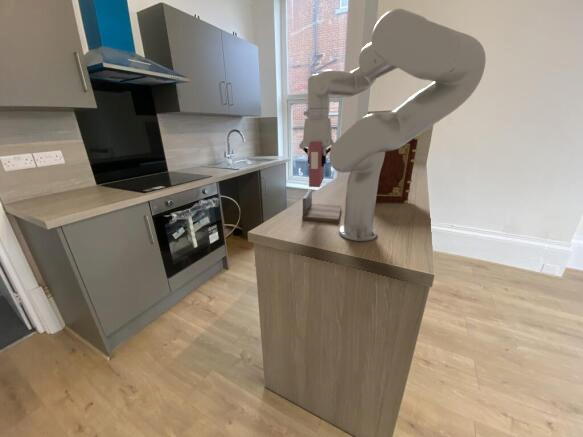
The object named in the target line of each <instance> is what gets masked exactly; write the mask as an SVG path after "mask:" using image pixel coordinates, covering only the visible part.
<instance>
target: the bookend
mask: <svg viewBox="0 0 583 437" xmlns="http://www.w3.org/2000/svg"><path fill="white" fill-rule="evenodd" d="M312 204H313V189H312V188H309V189H308V191H306V193H305V194H304V196H303V197H302V216H303V215H304V216H306V214H307V212H308V211H309V209H310V207H311V205H312Z"/></svg>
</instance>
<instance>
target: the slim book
mask: <svg viewBox="0 0 583 437" xmlns="http://www.w3.org/2000/svg"><path fill="white" fill-rule="evenodd" d="M322 154H323V150H322V142H310V143H309V164H308V187H309V188H320V187H321V185H322V182H323V180H324V175H325V174H324V173H325V165H324V166H323V167H322Z"/></svg>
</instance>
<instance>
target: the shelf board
mask: <svg viewBox="0 0 583 437" xmlns="http://www.w3.org/2000/svg"><path fill="white" fill-rule="evenodd" d="M341 212H342V205H336V204H322V203H320V204H319V203H312V205H311V207H310V209H309V211H308V212H307V214H306V216H304V215H303V214H302V217H301V221H302V222H311V223H322V224H334V225H335V224H336V225H339V223H340V217H341Z"/></svg>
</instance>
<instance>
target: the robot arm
mask: <svg viewBox="0 0 583 437" xmlns="http://www.w3.org/2000/svg"><path fill="white" fill-rule="evenodd" d="M370 37H371V38H370V42H369V43H367V44H366V45H365V46H364V47H362V48H361V49H360V50H361V51H360V52H359V56H358V66H359V67H357V68H356V69H353V70H351V71H346V70H339V69H337V70H336V69H325V70H322V71H320V73H316V74H314V73H313V74H311V75H309V77H308V79H307V109H306V110H305V111H303V116H307V118H305V119H304V124H303V125H304V126H303V135H302V136H303V139H302V141H301V142H300V144H299V145H298V148H299V149H300V150H302V151H303V152H304V153H305V154H306V155H307V164H308V165H309V143H310V142H322V150H323V154H322V167H323V166H324V167H325V165H326V164H327V155H328V154H329V155H328V156H329V157H328V158H329V162H330V165H331V167H332V168H333V169H334V170H335V171H336V172H338V173H342V174H343V173H349V175H348V178H347V181H346V192H345V203H344V204H345V205H344V207H345V208H344V221H343V225H341V226H340V227H338V228H339V230H338V233H339V234H340V235H341V237H343V238H344V239H347V240H351V241H356V242H367V241H372V240H374V239H375V238H376V237H377V235H378V232H377V229H376V228H374V222H375V221H374V219H375V212H376V204H377V203H376V196H377V189H378V181H379V175H380V171H381V168H382V164H383V161H384V157H385V152H386V151H392V150H396V149H398V148H400V147H402V146H403V145H405V144H406V143H407V142H409V141H410V140H412V139H413V138H415V137H416V136H418V135H419V136H420V135H421V134H422V133H425V131H426V130H428V129H430V128H431V127H432V126H434V125H435V124H436V123H439V122H440V121H441V120H442V119H444V118H446V117H447V116H449V115H450V114H452V113H453V112H454V111H456V110H457V109H459V107H460V106H462V105H463V104H464V103H465V102H466V101H467V100H468V99H469V98H470V97H471V96H472V94H473V93H475V91H476V89H477V87H478V86H479V84H480V82H481V80H482V77H483V75H484V72H485V68H486V59H487V58H486V52H485V49H484V46H483V45H482V43H481V42H480V40H478V39H477V38H475V37H473V36H472V35H470V34H467V33H464V32H461V31H459V30H456V29H453V28H450V27H447V26H444V25H442V24H438V23H436V22H433V21H432V20H431V21H430V20H428V19H427V18H426V17H425V16H422V15H420V14H417V13H414V12H412V11H409V10H406V9H404V8H393V9H391V10H389V11H387V12H386V13H384V14H383V15H382V16H381V17H380V18H379V20H378V21H377V22H376V24H375V26H374V28H373V30H372V32H371V36H370ZM396 69H399V70H400V71H403V72H405V73H406V74H408V75H410V76H412V77H413V78H416V79H420V80H422V81H428V82H429V81H430V82H431V83H430V84H429V85H427V86H426V87H424V88H422V89H420V90H419V91H417V92H415V93H414V94H412V96H410V97H409V98H408V99H407V100H406V101H405V102H403V103H402V104H401V105H400V106H398V107H397V108H395V109H394V110H391V111H387V112H371V113H369V114H366V115H364V116H362V117H360V118H359V119H358V120H357V121H356V122H354V123H353V125H351V126H350V127H349V128H348V129H347V130H346V131H345V132H344V133H342V135H341V136H340V137H338V139H337V140H335V141H334V140H333V138H332V120H331V117H330V118H329V114H330V113H329V112H330V98H350V97H351V98H352V97H354V96H356V95H358V94H361V93H363V92H365V91H366V90H368V89H370V88H371V87H372V86H373V84H374V83H375V82H376V80H377V79H378V78H380V77H383V76H385V75H386V74H388V73H390V72H393V71H394V70H396Z"/></svg>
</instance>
